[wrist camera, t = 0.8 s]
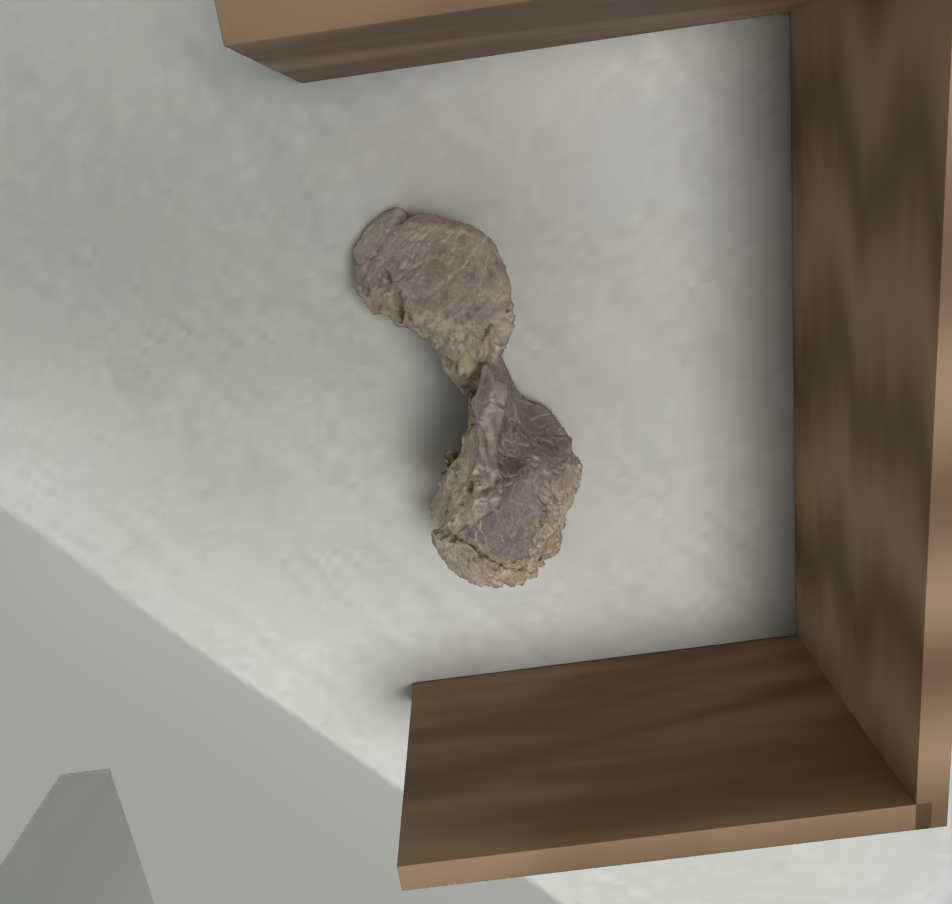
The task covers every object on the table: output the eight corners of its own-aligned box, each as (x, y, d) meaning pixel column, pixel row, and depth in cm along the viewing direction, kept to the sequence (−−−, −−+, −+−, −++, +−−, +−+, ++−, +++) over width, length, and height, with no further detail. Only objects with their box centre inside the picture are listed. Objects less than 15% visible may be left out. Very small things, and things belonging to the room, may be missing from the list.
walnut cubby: (295, 50, 28) (213, -4, 19) (820, -27, 28) (1005, -121, 18) (416, 702, 37) (402, 890, 27) (820, 652, 36) (946, 826, 27)
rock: (502, 176, 30) (513, 182, 23) (594, 532, 35) (627, 623, 28) (343, 223, 30) (310, 243, 24) (456, 568, 35) (455, 666, 28)
